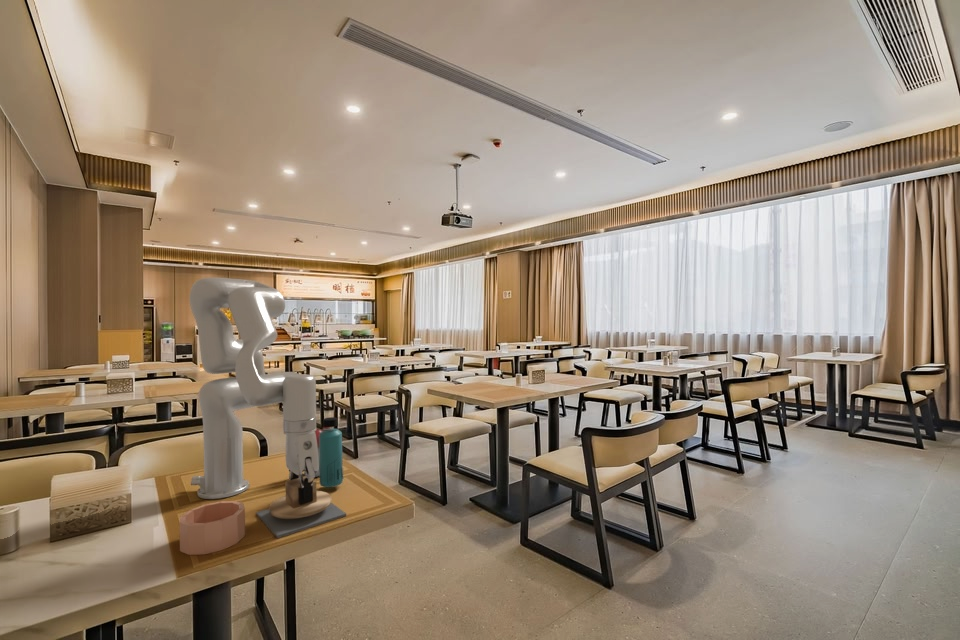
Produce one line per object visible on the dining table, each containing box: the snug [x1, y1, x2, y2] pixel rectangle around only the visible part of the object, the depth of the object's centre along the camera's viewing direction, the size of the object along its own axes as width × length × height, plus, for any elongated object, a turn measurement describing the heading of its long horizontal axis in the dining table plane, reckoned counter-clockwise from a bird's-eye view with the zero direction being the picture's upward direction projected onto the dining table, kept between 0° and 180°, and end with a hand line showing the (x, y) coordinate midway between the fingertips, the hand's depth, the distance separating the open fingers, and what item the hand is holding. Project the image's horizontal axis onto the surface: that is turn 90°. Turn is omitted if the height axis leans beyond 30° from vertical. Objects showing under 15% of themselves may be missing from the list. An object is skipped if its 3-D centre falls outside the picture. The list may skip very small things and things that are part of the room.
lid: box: [269, 476, 332, 519], centre depth 108 cm, size 14×14×6 cm
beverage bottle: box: [318, 417, 344, 488], centre depth 125 cm, size 6×7×20 cm
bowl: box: [179, 500, 246, 556], centre depth 96 cm, size 12×12×6 cm
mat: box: [256, 502, 347, 539], centre depth 108 cm, size 16×16×1 cm
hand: (301, 498), depth 108 cm, fingers closed on lid, 5 cm apart
